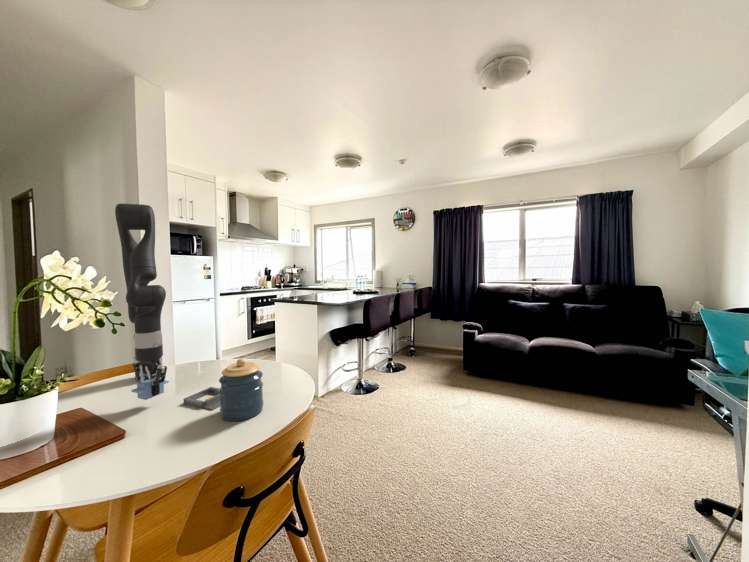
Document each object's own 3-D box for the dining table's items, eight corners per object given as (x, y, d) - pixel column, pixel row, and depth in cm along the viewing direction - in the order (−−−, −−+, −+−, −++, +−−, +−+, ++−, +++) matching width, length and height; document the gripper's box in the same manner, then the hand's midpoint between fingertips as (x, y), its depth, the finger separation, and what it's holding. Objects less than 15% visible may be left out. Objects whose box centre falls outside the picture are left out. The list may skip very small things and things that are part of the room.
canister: (215, 425, 90) (213, 367, 89) (224, 405, 103) (223, 354, 102) (261, 418, 94) (260, 363, 93) (265, 400, 106) (263, 351, 105)
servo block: (131, 400, 99) (130, 383, 98) (161, 388, 108) (160, 372, 107) (139, 402, 97) (138, 384, 97) (169, 390, 106) (168, 374, 106)
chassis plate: (183, 403, 104) (183, 397, 104) (211, 391, 115) (210, 385, 114) (212, 410, 100) (212, 403, 99) (238, 396, 110) (238, 390, 110)
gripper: (122, 345, 100) (125, 395, 101) (151, 349, 95) (153, 402, 96) (146, 339, 107) (148, 386, 108) (174, 343, 102) (176, 392, 103)
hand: (151, 393), depth 102 cm, fingers closed on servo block, 4 cm apart
